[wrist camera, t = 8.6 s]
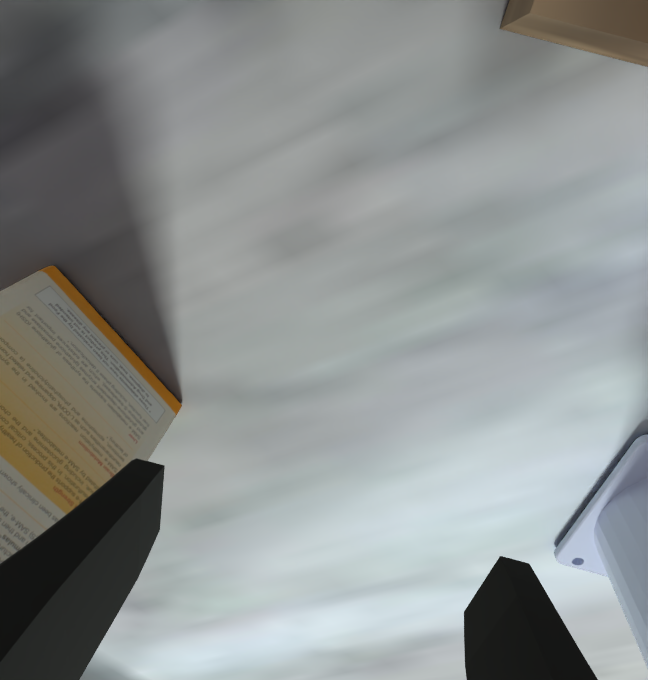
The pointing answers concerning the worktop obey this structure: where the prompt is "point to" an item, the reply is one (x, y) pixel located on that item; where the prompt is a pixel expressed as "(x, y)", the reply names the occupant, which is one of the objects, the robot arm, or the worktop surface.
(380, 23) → the worktop surface
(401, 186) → the worktop surface
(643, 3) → the walnut pedestal
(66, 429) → the supplement box
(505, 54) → the worktop surface
